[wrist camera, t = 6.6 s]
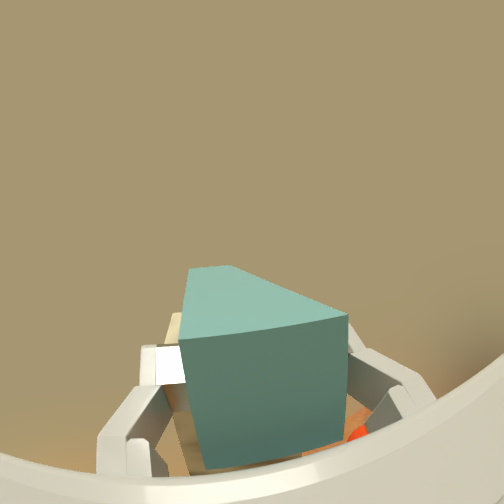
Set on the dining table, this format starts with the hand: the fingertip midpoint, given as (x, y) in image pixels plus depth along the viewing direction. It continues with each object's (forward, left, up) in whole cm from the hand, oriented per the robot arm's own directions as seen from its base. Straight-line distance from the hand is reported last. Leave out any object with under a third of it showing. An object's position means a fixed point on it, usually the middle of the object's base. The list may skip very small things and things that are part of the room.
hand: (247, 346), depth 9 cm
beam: (0, +8, -2) cm, 8 cm away
